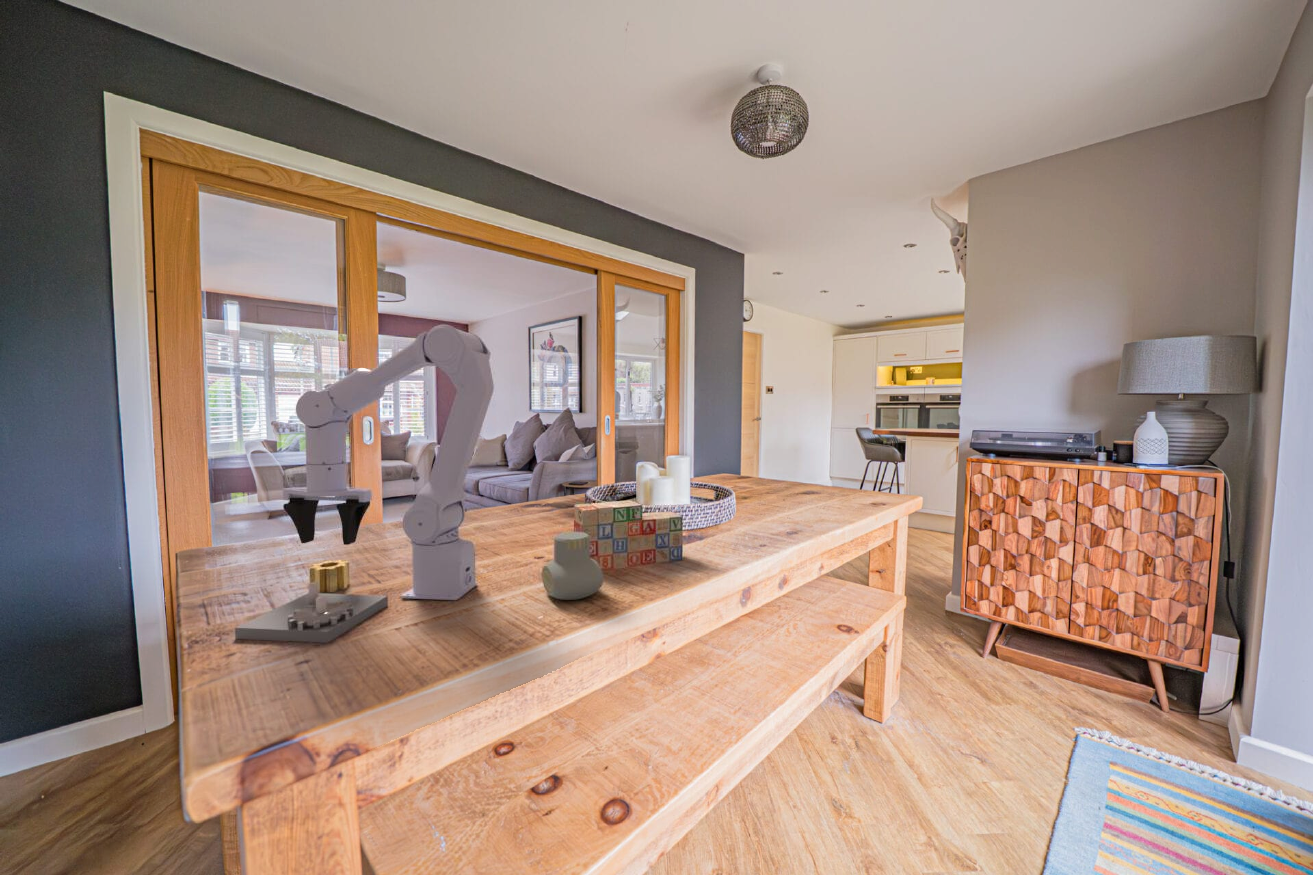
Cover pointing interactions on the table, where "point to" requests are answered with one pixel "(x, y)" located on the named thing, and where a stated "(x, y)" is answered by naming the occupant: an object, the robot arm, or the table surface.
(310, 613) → the gear
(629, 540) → the stack of blocks
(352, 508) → the robot arm
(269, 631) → the gear board
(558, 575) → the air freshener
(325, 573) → the brass gear
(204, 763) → the table surface
